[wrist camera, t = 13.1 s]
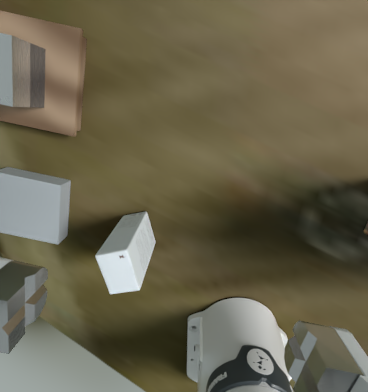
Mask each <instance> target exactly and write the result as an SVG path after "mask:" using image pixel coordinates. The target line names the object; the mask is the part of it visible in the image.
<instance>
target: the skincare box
mask: <svg viewBox="0 0 368 392" xmlns="http://www.w3.org/2000/svg"><path fill="white" fill-rule="evenodd" d="M155 243H156V241H155V238H154V235H153V231H152V228H151V224H150V221H149V217H148V214H147V212H141V213H135V214H130V215H124V216H123V217H122V218H121V220H120V221H119V222H118V224H117V225H116V227H115V228H114V230H113V231H112V232H111V234H110V235H109V237H108V238H107V239H106V241H105V242H104V244H103V245H102V247H101V248H100V249H99V251H98V252H97V254H96V255H95V257H96V259H97V262H98V265H99V267H100V270H101V272H102V275H103V277H104V280H105V282H106V285H107V287H108V290H109V293H110V294H116V293H122V292H130V291H139V290H140V288H141V285H142V282H143V279H144V276H145V273H146V270H147V267H148V264H149V261H150V258H151V255H152V252H153V249H154V246H155Z"/></svg>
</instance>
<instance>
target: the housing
mask: <svg viewBox="0 0 368 392" xmlns="http://www.w3.org/2000/svg"><path fill="white" fill-rule="evenodd" d="M45 52H46V49H44V48H42V47H39V46H37V45H34V44H32V43H29V42H27V41H24V40H22V39H20V38H17V37H15V36H12V35H8V34H4V33H0V104H2V105H7V106H11V107H38V108H44V100H45Z"/></svg>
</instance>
